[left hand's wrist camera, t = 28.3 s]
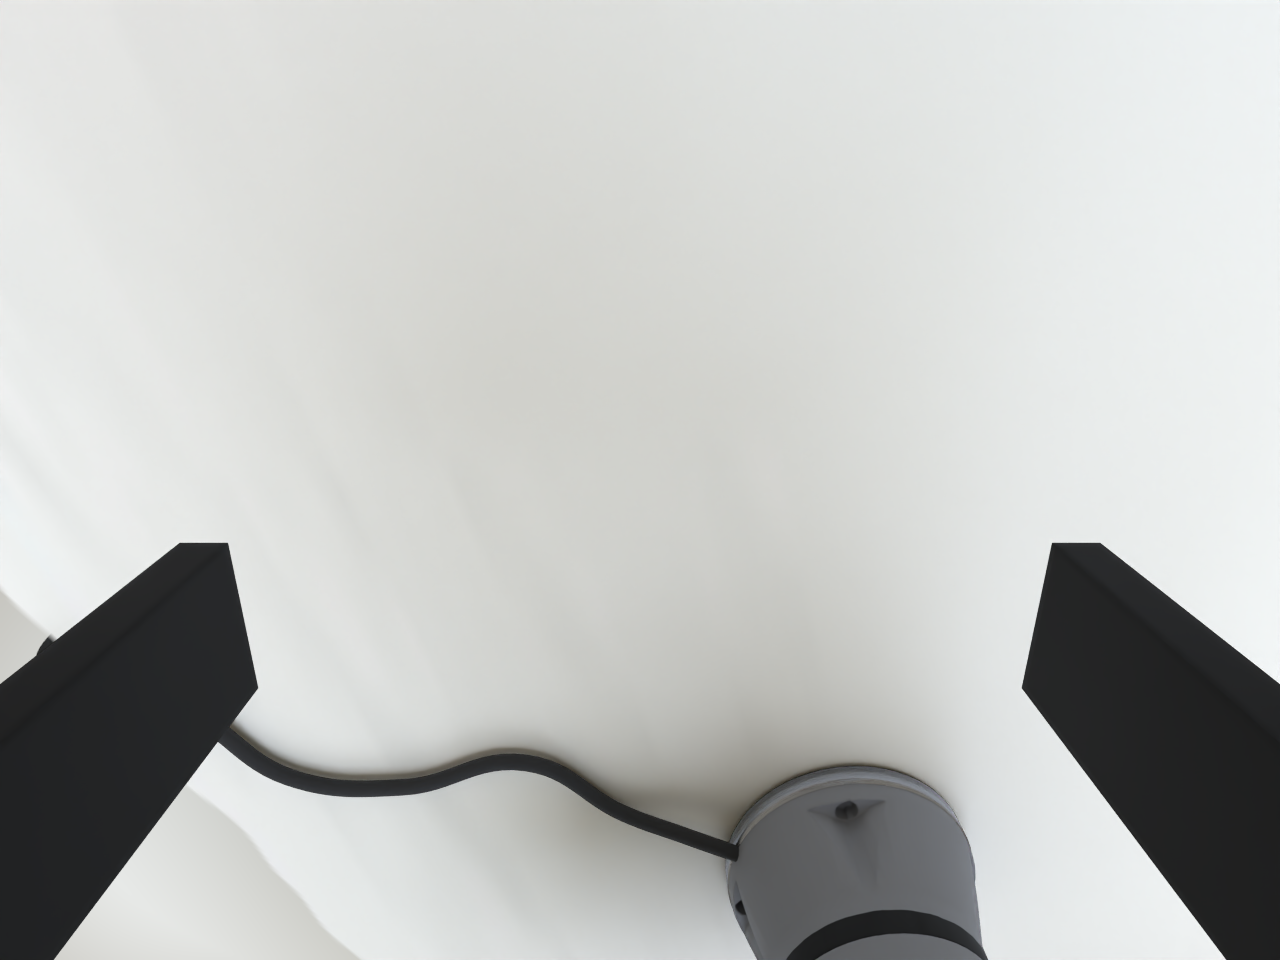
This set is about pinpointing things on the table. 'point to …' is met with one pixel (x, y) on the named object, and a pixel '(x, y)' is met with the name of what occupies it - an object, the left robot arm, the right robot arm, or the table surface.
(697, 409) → the table surface
